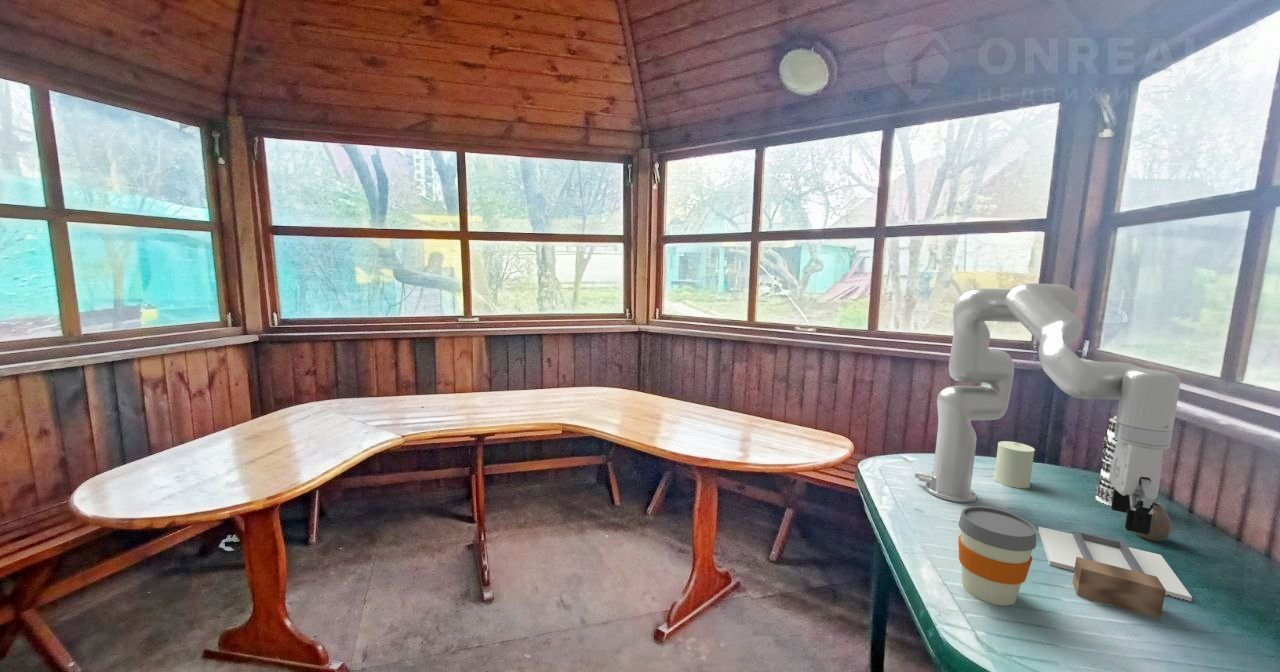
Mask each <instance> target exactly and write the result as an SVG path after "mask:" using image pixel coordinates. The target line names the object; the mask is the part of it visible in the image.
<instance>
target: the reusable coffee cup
mask: <svg viewBox="0 0 1280 672" xmlns="http://www.w3.org/2000/svg"><path fill="white" fill-rule="evenodd" d="M958 527H959V529H960V530H959V531H960V534H959V535H958V537H957V538H958V560H959V563H960V564H961V585H962V587H963V588H964V590H966V592H967V593H969V594H970V595H971V596H973V597H975V598H976V599H977V600H981V601H983V602H986V603H988V604H989V603H990V604H992V605H997V606H1005V607H1006V606H1012V605H1013V604H1015V603H1016V601H1017V599H1018V596H1019V591H1020V589H1021V586H1022V584H1024V582H1025V581H1026V579H1027V576H1028V574H1029V571H1030V567H1031V564H1032V561H1033V557H1032V552H1033V550H1034V549H1035V548H1036V547H1037V529H1036V527H1035V525H1033V524H1032V523H1031V522H1029V521H1028V520H1026V519H1025V518H1023V517H1021V516H1018V515H1017V514H1015V513H1011V512H1009V511H1006V510H1002V509H999V508H995V507H988V506H981V505H979V506H978V505H975V506H974V505H972V506H966V507H964V508H963V509H962V510H961V513H960V516H959V521H958Z"/></svg>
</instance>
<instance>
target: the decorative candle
mask: <svg viewBox="0 0 1280 672" xmlns="http://www.w3.org/2000/svg"><path fill="white" fill-rule="evenodd" d="M1108 421H1109V424H1108V427H1109V428H1108V429H1107V432H1106V436H1104V437H1103V438H1102V440H1103V441H1104V442H1103V443H1102V444H1101V445H1102V446H1103V447H1102V448H1103V450H1101V452H1102V455H1101V456H1100V458H1101V460H1102V462H1103V463H1102V468H1101V469H1100V474H1099V475H1098V478H1099V479H1098V480H1097V483H1098V484H1097V485H1096V489H1097V490H1096V491H1095V494H1096V495H1095V500H1096V501H1098V502H1099V503H1102V504H1103V503H1104V504H1103V505H1105V504H1106V505H1105V506H1108V505H1110V506H1109V507H1111V505H1112V498H1113V491H1114V490H1115V489H1114V486H1113V485H1112V483H1111V482H1110V480H1109V475H1110V470H1111V465H1112V461H1113V456H1114V451H1115V447H1116V444H1117V441H1118V440H1116V439H1115V438H1114V435H1115V428H1116V421H1117V415H1114V416H1113V417H1112V418H1109V419H1108ZM1116 491H1117V490H1116ZM1134 494H1137V493H1134ZM1137 502H1138V501H1137V500H1136V504H1137Z"/></svg>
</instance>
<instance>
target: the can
mask: <svg viewBox="0 0 1280 672" xmlns="http://www.w3.org/2000/svg"><path fill="white" fill-rule="evenodd" d="M1035 451H1036V449H1035V448H1034V447H1033V446H1030V445H1029V444H1028V445H1027V444H1024V443H1022V442H1021V443H1020V442H1017V441H1009V440H1008V441H1007V440H1002V441H998V442H997V453H996V459H995V467H994V474H993V477H992V478H993V480H994V481H995V482H997V483H999V484H1001V485H1004V486H1005V487H1010V488H1014V487H1015V489H1029V488H1030V487H1031V476H1032V469H1033V463H1034V456H1035Z"/></svg>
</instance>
